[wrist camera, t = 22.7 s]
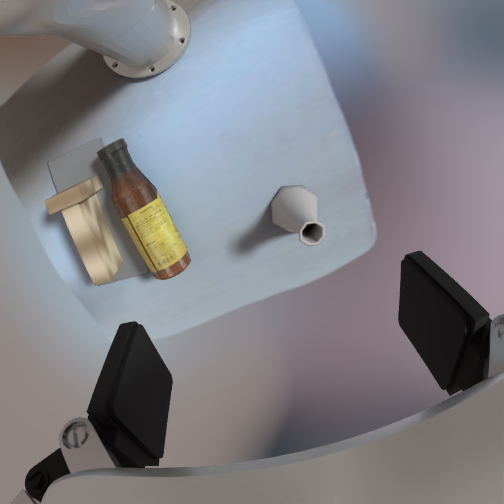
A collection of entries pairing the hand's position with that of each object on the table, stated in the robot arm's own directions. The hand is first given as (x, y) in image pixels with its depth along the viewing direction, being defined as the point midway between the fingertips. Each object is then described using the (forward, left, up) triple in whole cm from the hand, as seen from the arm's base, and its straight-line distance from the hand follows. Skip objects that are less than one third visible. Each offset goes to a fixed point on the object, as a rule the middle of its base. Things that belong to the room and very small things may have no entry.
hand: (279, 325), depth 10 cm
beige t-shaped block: (+2, -23, -33) cm, 40 cm away
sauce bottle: (+11, -13, -30) cm, 35 cm away
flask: (+8, +6, -34) cm, 35 cm away
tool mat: (+1, -23, -33) cm, 40 cm away
